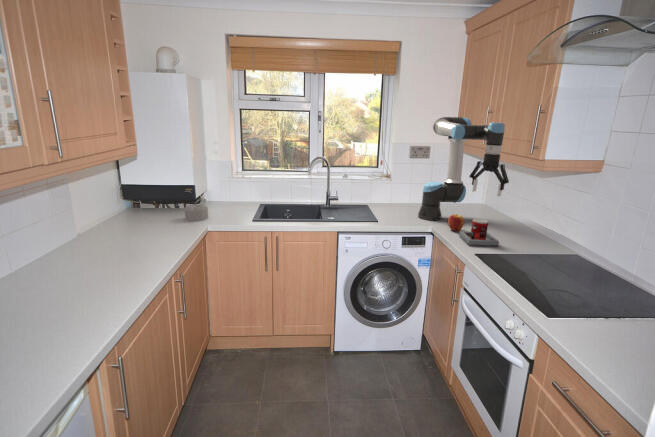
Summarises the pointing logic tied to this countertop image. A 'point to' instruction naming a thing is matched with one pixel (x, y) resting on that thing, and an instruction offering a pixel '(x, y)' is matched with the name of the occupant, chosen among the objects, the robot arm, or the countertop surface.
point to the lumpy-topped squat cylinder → (196, 213)
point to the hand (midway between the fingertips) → (486, 193)
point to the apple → (456, 222)
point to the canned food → (479, 229)
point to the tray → (488, 242)
